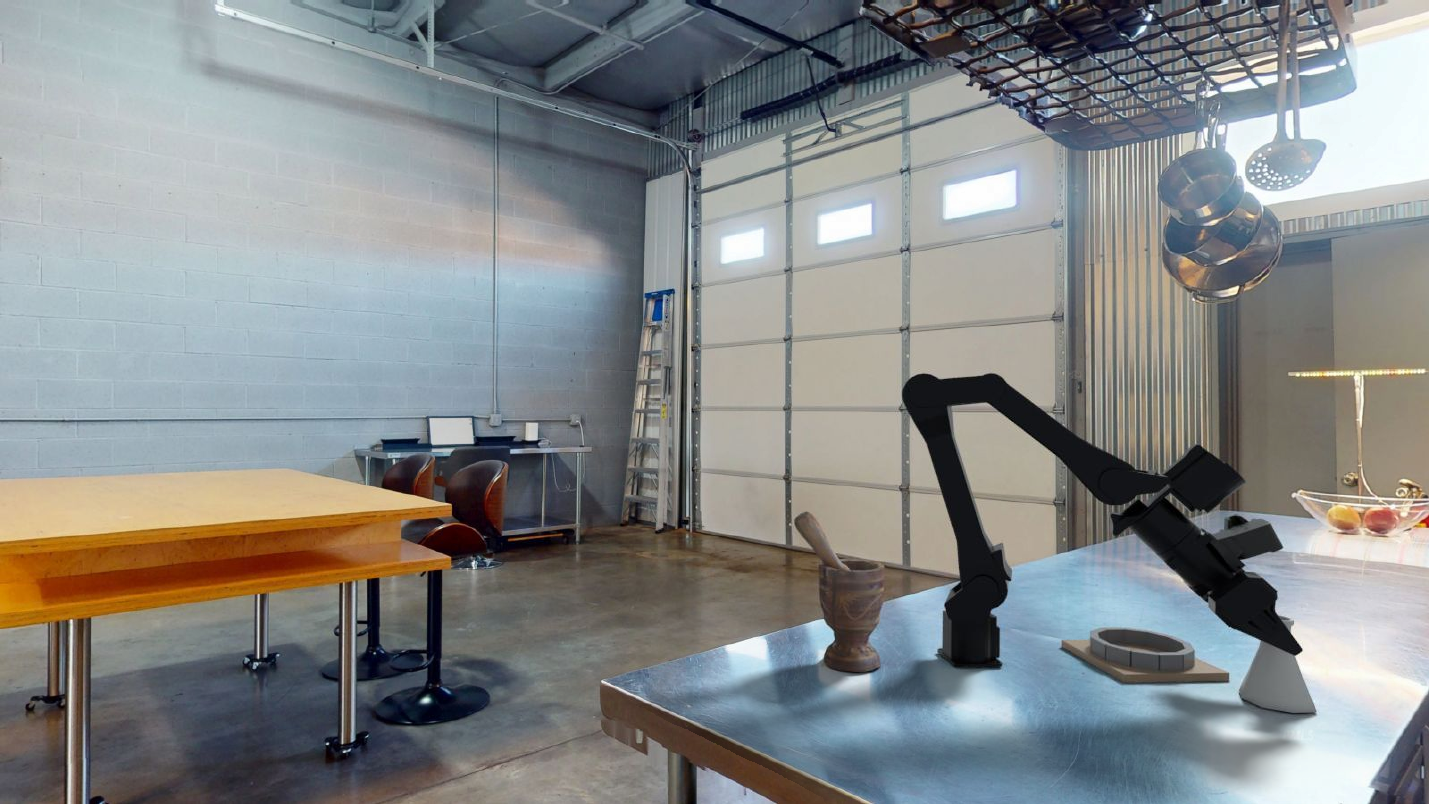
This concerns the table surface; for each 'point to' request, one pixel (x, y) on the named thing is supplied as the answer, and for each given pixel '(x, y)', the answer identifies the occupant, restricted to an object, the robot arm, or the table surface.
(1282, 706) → the flask
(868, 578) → the mortar and pestle
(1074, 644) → the duct collar
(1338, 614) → the table surface
